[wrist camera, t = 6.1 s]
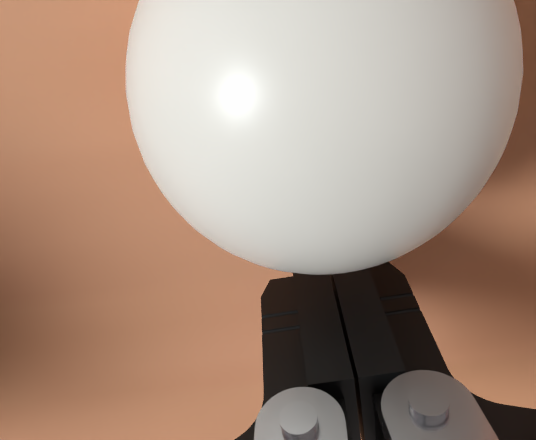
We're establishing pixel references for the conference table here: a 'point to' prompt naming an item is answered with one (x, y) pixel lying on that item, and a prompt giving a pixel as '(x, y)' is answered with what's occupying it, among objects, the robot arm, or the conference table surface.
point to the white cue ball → (322, 120)
